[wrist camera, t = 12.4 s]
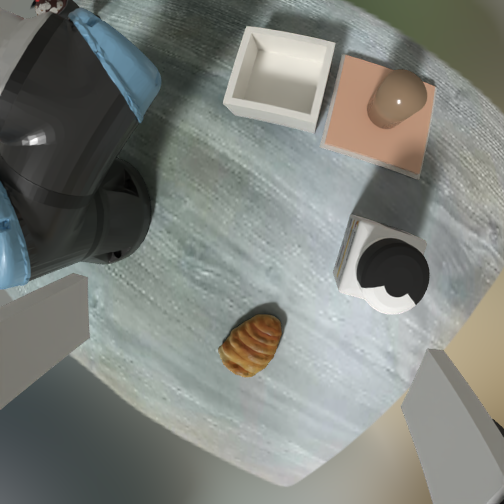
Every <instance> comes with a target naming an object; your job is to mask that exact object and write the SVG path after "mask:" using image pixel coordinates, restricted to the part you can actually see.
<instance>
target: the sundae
mask: <svg viewBox="0 0 504 504" xmlns="http://www.w3.org/2000/svg"><path fill="white" fill-rule="evenodd" d="M77 8H79V6H78V5H77V4H76V3H75V2H74V1H73V0H36V5H35V10H36V13H37V16H38V15H41V14H43V13H46V12H49V11H52V12H54V13H56V14H58V15H60V16H62V17H64V18H66V19H68V15H69V13H70V12H73V11H74V10H76V9H77ZM95 16H96V15H95ZM97 17H98V16H97ZM98 18H99V17H98Z"/></svg>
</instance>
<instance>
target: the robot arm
mask: <svg viewBox="0 0 504 504" xmlns="http://www.w3.org/2000/svg"><path fill="white" fill-rule="evenodd" d="M160 87H161V76H160V73H159V71H158V69H157V68H156V66H155V65H154V64H153V63H152V62H151V61H150V60H149V59H148V58H147V57H146V56H145V55H144V54H143V53H142V52H141V51H140V50H139V49H138V48H137V47H136V46H135V45H134V44H132V43H131V42H130V41H129V40H128V39H127V38H126V37H124V36H123V35H122V34H121V33H119V32H118V31H117V30H116V29H114V28H113V27H112V26H110V25H109V24H108V23H106V22H105V21H102V20H101V19H100V18H98V17H97V16H95V15H94V14H93V13H92V12H90V11H88V10H86V9H84V8H77V9H76V10H74V11H73V12H70V13H69V15H68V19H66V18H64V17H62V16H60V15H58V14H56V13H54V12H52V11H49V12H46V13H43V14H41V15H38V16H35V17H32V18H26V19H24V18H22V17H20V16H18V15H15V14H13V13H11V12H9V11H7V10H4V9H2V8H0V289H7V288H11V287H15V286H18V285H21V286H23V285H25V284H27V283H28V282H29V281H31V280H33V279H36V278H38V277H41V276H44V275H46V274H49V273H51V272H54V271H56V270H59V269H62V268H64V267H67V266H69V265H72V264H75V263H77V262H80V261H81V262H88V263H95V264H111V263H114V262H117V261H120V260H122V259H124V258H126V257H128V256H130V255H131V254H132V253H134V252H135V251H136V250H137V249H138V247H139V246H140V245H141V243H142V242H143V240H144V238H145V236H146V234H147V231H148V227H149V223H150V216H151V204H150V197H149V193H148V190H147V187H146V184H145V182H144V180H143V178H142V177H141V175H140V174H139V172H138V171H137V170H136V169H135V168H134V167H133V166H132V165H130V164H129V163H128V162H126V161H124V160H122V159H119V158H116V157H117V156H118V154H119V152H120V151H121V149H122V148H123V146H124V145H125V143H126V142H127V140H128V139H129V137H130V136H131V134H132V133H133V131H134V130H135V128H136V127H137V125H138V124H139V123H141V122H142V121H143V116H144V114H145V112H146V111H147V109H148V107H149V106H150V104H151V103H152V101H153V100H154V98H155V97H156V95H157V94H158V92H159V90H160ZM89 338H90V333H89V314H88V277H85V276H82V275H78V274H75V273H72V274H70V275H68V276H66V277H64V278H61V279H59V280H57V281H55V282H53V283H50V284H48V285H46V286H44V287H42V288H40V289H37V290H35V291H33V292H31V293H29V294H27V295H25V296H23V297H20V298H18V299H16V300H14V301H12V302H10V303H8V304H6V305H4V306H2V307H0V410H1V409H2V408H3V407H4V406H5V405H6V404H8V403H9V402H10V401H11V400H13V399H14V398H15V397H16V396H17V395H19V394H20V393H21V392H22V391H24V390H25V389H26V388H27V387H28V386H30V385H31V384H32V383H33V382H34V381H36V380H37V379H38V378H40V377H41V376H42V375H43V374H44V373H45V372H47V371H48V370H49V369H51V368H52V367H53V366H54V365H56V364H57V363H58V362H60V361H61V360H62V359H63V358H65V357H66V356H67V355H68V354H70V353H71V352H72V351H73V350H75V349H76V348H77V347H79V346H80V345H81V344H82V343H84V342H85V341H86V340H87V339H89ZM401 409H402V411H403V414H404V416H405V419H406V422H407V425H408V427H409V430H410V433H411V436H412V439H413V442H414V445H415V448H416V450H417V454H418V456H419V459H420V463H421V466H422V468H423V472H424V475H425V478H426V482H427V485H428V488H429V491H430V495H431V498H432V502H433V504H504V429H503V427H502V426H500V425H499V424H498V423H497V422H496V421H495V420H494V419H492V418H491V417H490V416H489V414H488V412H487V411H486V409H485V408H484V406H483V405H482V403H481V402H480V401H479V399H478V397H477V396H476V395H475V393H474V392H473V390H472V389H471V387H470V386H469V385H468V383H467V382H466V380H465V379H464V377H463V376H462V375H461V373H460V372H459V371H458V369H457V368H456V366H455V365H454V364H453V363H452V361H451V360H450V358H449V357H448V356H447V354H446V353H445V352H444V350H436V349H427V350H426V353H425V355H424V358H423V360H422V362H421V365H420V367H419V369H418V371H417V374H416V376H415V378H414V380H413V382H412V385H411V387H410V389H409V391H408V393H407V395H406V397H405V399H404V401H403V403H402V405H401Z"/></svg>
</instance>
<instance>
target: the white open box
mask: <svg viewBox="0 0 504 504" xmlns="http://www.w3.org/2000/svg"><path fill="white" fill-rule="evenodd" d="M334 48H335V43H334V42H330V41H326V40H322V39H318V38H313V37H309V36H304V35H299V34H294V33H289V32H283V31H277V30H271V29H264V28H257V27H250V26H246V29H245V32H244V35H243V38H242V41H241V44H240V48H239V51H238V54H237V57H236V60H235V64H234V67H233V70H232V74H231V77H230V80H229V84H228V87H227V90H226V94H225V97H224V101H223V104H224V105H225V106H226V107H227V108H228V109H229V110H230V111H231V112H232V113H233V114H234V115H236V116H242V117H247V118H251V119H256V120H261V121H265V122H270V123H274V124H278V125H283V126H287V127H291V128H295V129H299V130H303V131H306V132H310V133H315V129H316V126H317V122H318V118H319V114H320V109H321V105H322V101H323V97H324V93H325V89H326V85H327V81H328V76H329V72H330V68H331V64H332V59H333V54H334Z"/></svg>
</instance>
